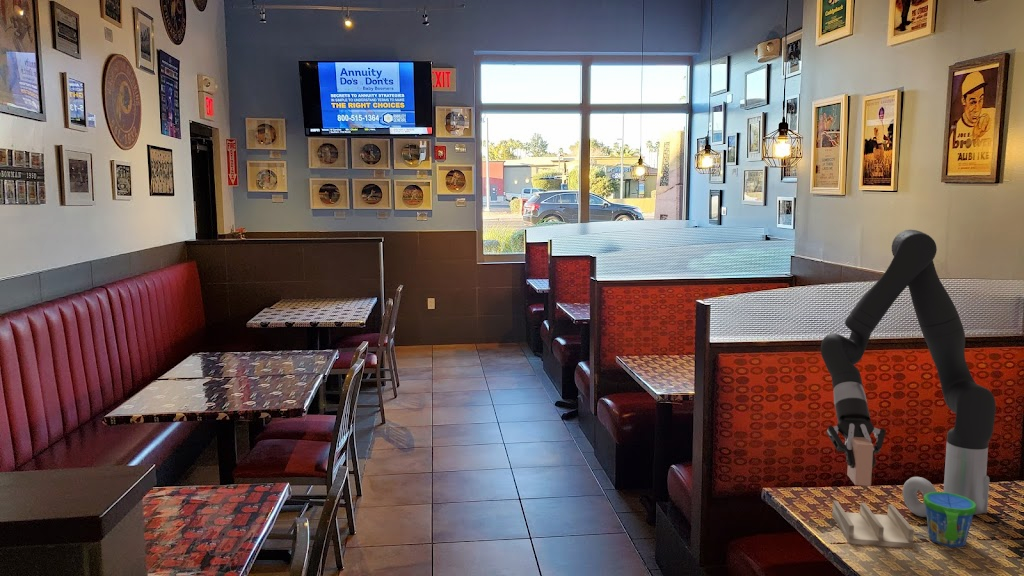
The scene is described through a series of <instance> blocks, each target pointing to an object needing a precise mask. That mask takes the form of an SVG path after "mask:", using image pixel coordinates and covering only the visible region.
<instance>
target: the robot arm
mask: <svg viewBox="0 0 1024 576" xmlns="http://www.w3.org/2000/svg"><path fill="white" fill-rule="evenodd" d="M937 250H938V247H937V244H936V241H935V239H934V238H933V237H931V236H930V235H929V234H927V233H925V232H923V231H920V230H917V229H905V230H902V231H900V232H899V233H897V234H896V236H895V237H894V238H893V240H892V243H891V253H892V256H893V257H892V260H891V261H890V264H889V266H888V267H887V268H886V270H885V272H884V273H883V274H882V276H881V277H880V278H879V279H878V280H877V282H875V284H874V285H873V286H871V287H870V288H869V289H868V290H867V291H866V292H865V294H863V296H862V297H861V298H860V299H859V301H858V302H857V303H856V304H855V306H854V308H853V309H852V310H851V312H850V313H849V314H848V316H847V317H846V319H845V321H844V324H845V327H846V328H847V329H849V330H850V331H851V332H850V336H849V338H848V337H846V336H843V335H841V334H839V333H834V332H833V333H829V334H827V335H825V337H824V338H823V339H822V341H821V344H820V354H821V358H822V360H823V362H824V364H825V368H826V369H827V371H828V373H829V374H830V377H831V382H832V388H833V389H832V390H833V405H834V408H835V414H836V418H837V419H836V420H837V421H836V422H837V424H836V425H834V426H833V425H829V426H828V428H827V430H826V434H827V437H828V438H829V439H830V442H832V445H833V446H834V448H835V449H836V451H838V452H843V453H844V454H845V460H846V464H847V466H848V465H849V466H850V468H854V467H855V459H854V453H853V451H852V438H853V437H864V438H865V439H868V440H869V441H870V442H871V443H872V438H871V435H872V434H874V437H875V439H876V441H875V443H874V444H875V445H873V459H872V469H874V467H875V466H876V463H877V462H876V457H875V454H880V451H881V450H882V448H883V443H884V440H885V436H886V433H887V430H886V429H885V428H881V429H879V428H878V427H874V425H873V423H872V421H871V415H870V410H869V405H868V401H867V396H866V392H865V390H864V385H863V382H862V375H861V371H860V370H859V369H858V367H857V366H856V364H858V363H859V362H860V361H861V360H862V358H863V356H864V355H865V354H864V353H865V351H866V348H867V346H868V344H869V341H870V338H871V336H872V333H873V331H874V330H875V329H876V328H877V326H878V325H879V323H880V322H881V321H882V320H883V318H884V316H885V315H886V314H887V312H888V311H889V310H890V308H891V307H892V305H893V304H894V303H895V302H896V300H897V298H898V297H899V296H900V295H901V294H902V293H903V291H904V290H905V289H906V288H907V287H908V290H909V293H910V299H911V302H912V305H913V308H914V312H915V315H916V318H917V321H918V324H919V328H920V331H921V333H922V335H923V338H924V341H925V342H926V345H927V348H928V351H929V353H930V355H931V358H932V361H933V362H934V366H935V368H936V371H937V375H938V379H939V382H940V386H941V387H940V388H941V391H942V396H943V399H944V402H945V404H946V406H947V407H948V409H949V410H950V411H952V412H953V413H954V414H955V420H954V421H955V423H954V427H953V428H950V429H949V430H948V431H947V434H946V445H945V449H946V450H945V463H944V464H945V466H944V478H943V479H944V480H943V491H942V492H946V493H952V494H957V495H960V496H963V497H966V498H968V499H970V500H972V501H973V502H974V503H975V504H976V511H975V513H974V514H973V516H974V515H981V514H988V507H989V506H988V505H989V504H988V503H989V490H990V477H989V476H988V475H987V467H988V455H989V454H988V452H989V445H990V444H989V443H990V441H991V439H992V437H993V434H994V433H993V432H994V426H995V419H996V411H997V409H996V408H997V407H996V406H997V405H996V403H997V402H996V399H995V396H994V395H993V392H992V391H990V390H989V389H988V388H986V387H985V386H981V385H980V384H977V382H976V381H975V380H974V378H973V376H972V373H971V371H970V369H969V366H968V364H967V360H966V355H965V350H966V349H965V348H966V347H965V346H966V333H965V329H964V326H963V323H962V321H961V317H960V315H959V312H958V310H957V308H956V305H955V304H954V302H953V300H952V298H951V296H950V294H949V293H948V291H947V289H946V288H945V286H944V285H943V283H942V282H941V280H940V277H939V275H938V273H937V271H936V267H935V263H934V259H935V257H936V255H937ZM839 434H841V435H842V437H844V442H843V440H842V439H841V437H840V436H839Z"/></svg>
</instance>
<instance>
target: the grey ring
mask: <svg viewBox="0 0 1024 576" xmlns="http://www.w3.org/2000/svg"><path fill="white" fill-rule="evenodd" d="M918 492H920V493H921V494H922V496H923V498H924V496H925V495H926V494H927V493H931V492H938V491H937V489H936V487H935V485H933V484H932V483H931V481H930V480H928V479H926V478H924V477H920V476H912V477H909V479H907V480H906V481H905V482H904V484H903V486H902V498H903V502H904V503H905V506H906V508H907V509H909V511H910V512H911V513H912V514H914V515H915V516H916V517H917V516H918V517H921V518H927V514H926V505H925V503H924V500H923V502H921V501H920V500H919V498H918Z"/></svg>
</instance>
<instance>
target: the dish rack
mask: <svg viewBox="0 0 1024 576" xmlns="http://www.w3.org/2000/svg"><path fill="white" fill-rule="evenodd" d="M859 505H860V506H859V509H860V510H859V512H850V511H849V512H848V511H847V512H846V511H845V510H844V508H843V507H842V505H841V504H840V503H839V501H838V500H832V511H831V517H832V518H833V520H834V521H835V523H836V524H837V526H838V527H839V530H840V531H841V533H842V535H843V536H844V537H845V540H846V541H847V542H848V544H849V545H850V544H852V545H862V546H863V545H864V546H865V545H866V546H878V547H879V546H880V547H891V548H905V549H907V548H908V549H914V547H915V543H914V531H915V530H914V528H913V527H912V526H911V524H910V523H909V522H908V521H907V520H906V519H905V518H904V516H903V515H902V514H901V513H900V511H899V510H898V509H897V508H896V507H895V505H894V504H887V514H876V513H873V512H872V510H871V509H870V508H869V506H868V505H867V503H866V502H860V504H859Z"/></svg>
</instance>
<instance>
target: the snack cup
mask: <svg viewBox="0 0 1024 576" xmlns="http://www.w3.org/2000/svg"><path fill="white" fill-rule="evenodd" d="M923 501H924V503H925V505H926V514H927V517H926V522H927V523H926V524H927V530H928V537H929V539H930V540H931V541H932V542H933V543H937V544H938V545H941V546H943V547H948V548H960V547H965V545H966V543H967V540H968V536H969V534H970V529H971V525H972V522H973V517H974V515H975V514H974V513H975V511H976V504H975V503H974V502H973V501H972V500H970V499H968V498H966V497H963V496H960V495H957V494H952V493H946V492H943V491H937V492H931V493H927V494H926V495H925V496H924V497H923ZM973 514H974V515H973Z"/></svg>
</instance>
